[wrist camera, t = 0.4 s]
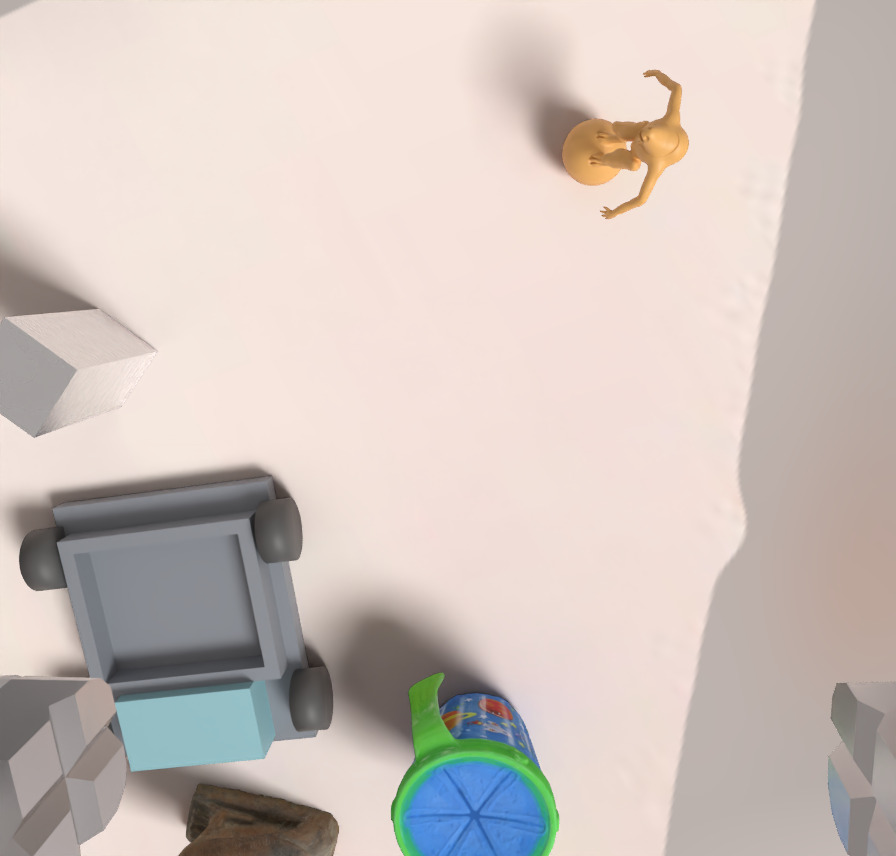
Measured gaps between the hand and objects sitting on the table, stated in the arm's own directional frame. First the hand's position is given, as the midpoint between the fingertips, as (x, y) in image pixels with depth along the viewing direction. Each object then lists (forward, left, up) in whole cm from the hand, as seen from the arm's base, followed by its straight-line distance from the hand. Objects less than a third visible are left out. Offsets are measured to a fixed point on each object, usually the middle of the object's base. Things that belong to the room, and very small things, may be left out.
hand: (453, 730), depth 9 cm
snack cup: (+29, -5, -47) cm, 56 cm away
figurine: (-11, +9, -47) cm, 49 cm away
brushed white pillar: (-3, -27, -47) cm, 54 cm away
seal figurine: (+35, -23, -47) cm, 63 cm away
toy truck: (+17, -25, -47) cm, 56 cm away
